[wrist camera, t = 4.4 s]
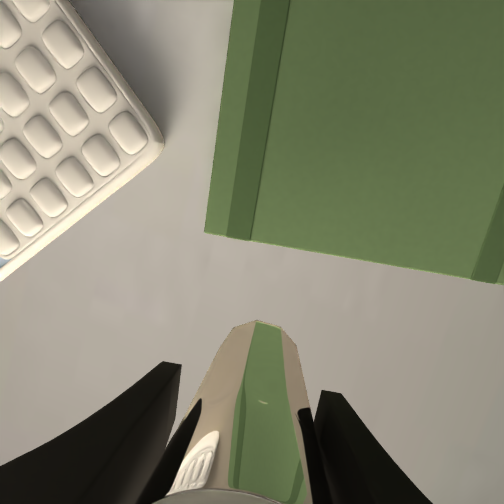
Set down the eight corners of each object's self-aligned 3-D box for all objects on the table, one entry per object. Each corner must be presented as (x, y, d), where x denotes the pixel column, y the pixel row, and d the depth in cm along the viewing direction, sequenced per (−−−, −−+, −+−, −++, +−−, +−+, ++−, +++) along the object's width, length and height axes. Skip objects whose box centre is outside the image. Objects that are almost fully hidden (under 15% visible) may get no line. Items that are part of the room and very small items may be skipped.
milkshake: (254, 267, 13) (158, 577, 3) (336, 365, 13) (482, 886, 4) (171, 330, 14) (-107, 720, 4) (251, 419, 14) (185, 939, 5)
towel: (631, -39, 15) (653, -52, 14) (507, 283, 19) (519, 288, 18) (249, -97, 15) (248, -113, 14) (206, 230, 19) (203, 233, 18)
